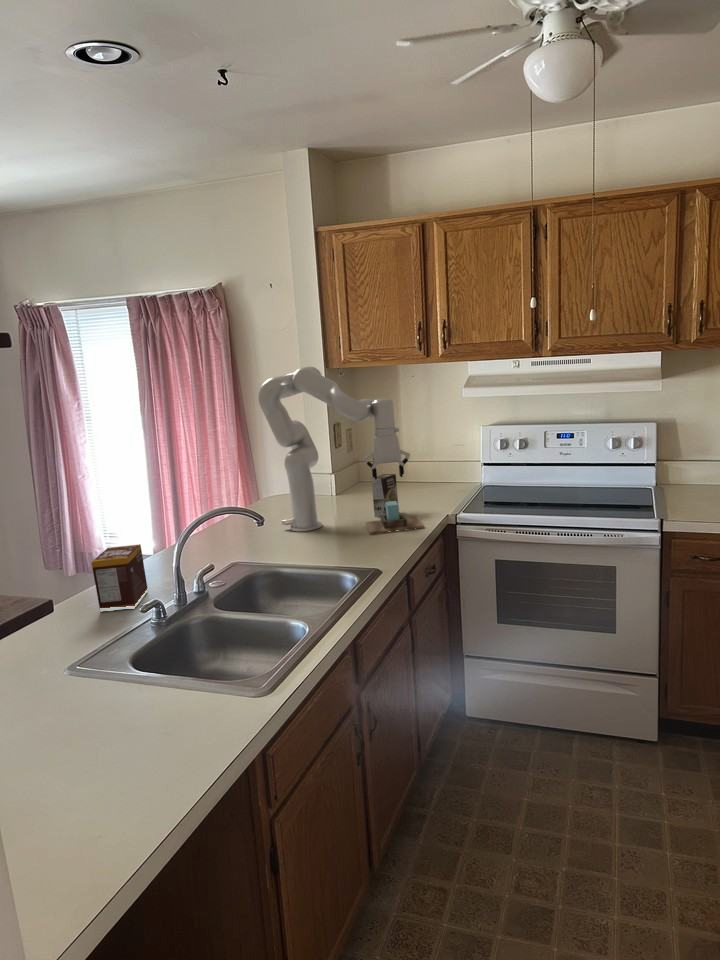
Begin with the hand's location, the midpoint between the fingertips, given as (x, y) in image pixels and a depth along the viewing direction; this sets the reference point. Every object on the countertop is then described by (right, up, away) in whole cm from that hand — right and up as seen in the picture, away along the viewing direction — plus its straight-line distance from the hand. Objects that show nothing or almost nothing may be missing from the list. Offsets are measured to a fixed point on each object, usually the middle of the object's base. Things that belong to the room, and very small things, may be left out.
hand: (388, 477), depth 270 cm
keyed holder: (+2, -18, +3) cm, 19 cm away
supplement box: (-81, -38, -53) cm, 104 cm away
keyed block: (+2, -18, +3) cm, 18 cm away
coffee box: (0, -15, +23) cm, 28 cm away
